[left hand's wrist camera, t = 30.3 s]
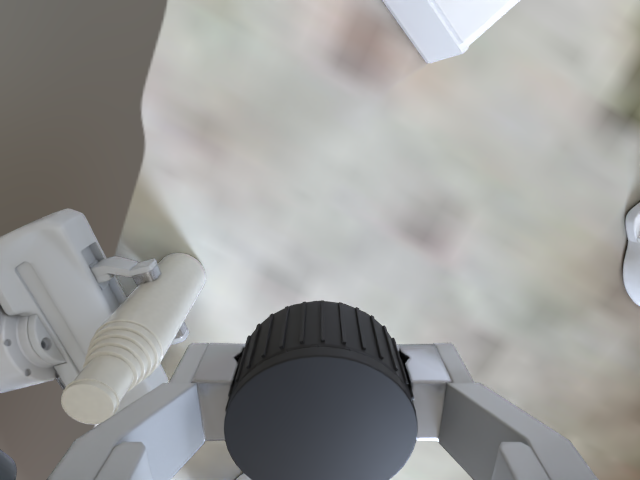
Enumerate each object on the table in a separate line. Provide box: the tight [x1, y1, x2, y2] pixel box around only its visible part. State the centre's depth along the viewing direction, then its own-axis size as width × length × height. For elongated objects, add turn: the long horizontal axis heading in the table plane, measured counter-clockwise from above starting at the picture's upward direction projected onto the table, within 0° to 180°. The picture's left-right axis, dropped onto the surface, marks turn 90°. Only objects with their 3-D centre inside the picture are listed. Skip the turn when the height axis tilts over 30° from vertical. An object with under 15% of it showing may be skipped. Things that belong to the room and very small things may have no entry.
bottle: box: [61, 253, 206, 424], centre depth 31 cm, size 5×5×18 cm
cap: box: [224, 301, 418, 480], centre depth 9 cm, size 4×4×2 cm
